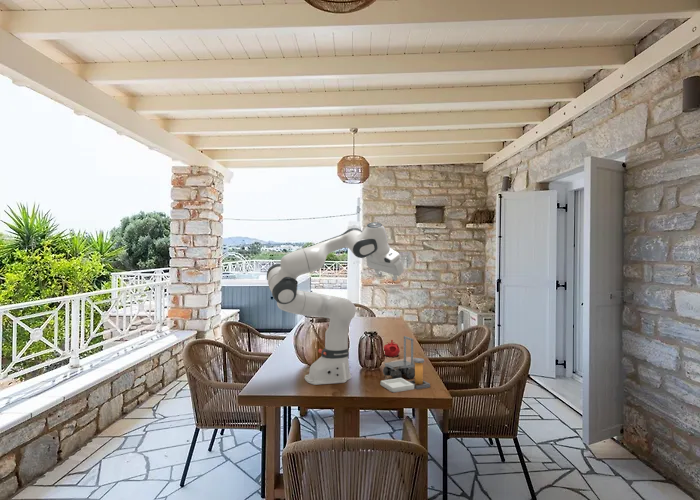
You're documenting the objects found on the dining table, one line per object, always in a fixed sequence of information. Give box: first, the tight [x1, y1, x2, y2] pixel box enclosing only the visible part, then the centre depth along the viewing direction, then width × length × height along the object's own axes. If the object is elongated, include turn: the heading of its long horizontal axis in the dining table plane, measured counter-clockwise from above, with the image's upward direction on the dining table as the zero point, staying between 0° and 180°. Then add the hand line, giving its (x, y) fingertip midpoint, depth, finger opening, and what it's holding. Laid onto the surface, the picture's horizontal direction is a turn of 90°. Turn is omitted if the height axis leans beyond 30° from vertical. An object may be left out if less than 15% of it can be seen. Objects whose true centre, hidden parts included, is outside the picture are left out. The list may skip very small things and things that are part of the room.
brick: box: [390, 356, 415, 369], centre depth 209 cm, size 17×8×5 cm, turn 128°
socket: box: [407, 379, 431, 390], centre depth 181 cm, size 7×7×2 cm
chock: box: [384, 375, 392, 380], centre depth 187 cm, size 2×3×2 cm
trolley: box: [382, 335, 415, 380], centre depth 193 cm, size 13×9×19 cm
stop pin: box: [414, 357, 425, 385], centre depth 181 cm, size 5×5×12 cm
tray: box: [380, 377, 415, 393], centre depth 179 cm, size 11×11×2 cm
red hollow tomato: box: [383, 339, 401, 358], centre depth 236 cm, size 10×10×9 cm
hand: (387, 277), depth 193 cm, fingers open, 8 cm apart
